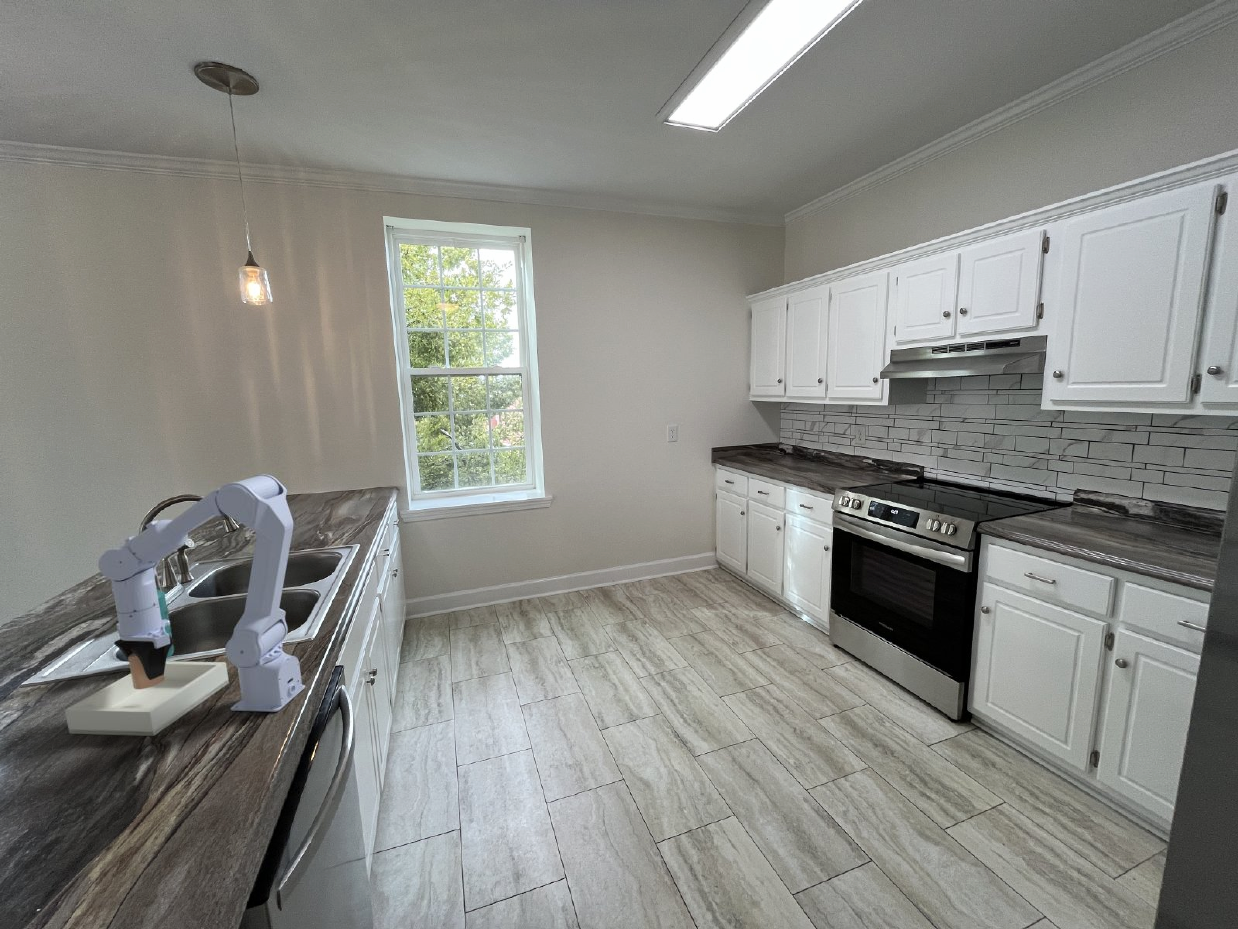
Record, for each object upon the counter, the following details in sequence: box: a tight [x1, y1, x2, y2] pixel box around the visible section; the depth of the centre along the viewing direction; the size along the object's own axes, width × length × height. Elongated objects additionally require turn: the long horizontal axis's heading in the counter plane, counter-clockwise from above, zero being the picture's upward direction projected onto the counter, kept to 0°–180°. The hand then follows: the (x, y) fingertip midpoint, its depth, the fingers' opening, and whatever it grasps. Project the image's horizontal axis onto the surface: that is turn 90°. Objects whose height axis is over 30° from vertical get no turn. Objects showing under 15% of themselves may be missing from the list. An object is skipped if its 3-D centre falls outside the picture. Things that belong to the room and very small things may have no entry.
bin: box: [64, 660, 230, 737], centre depth 97 cm, size 16×16×5 cm
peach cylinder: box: [127, 653, 165, 689], centre depth 95 cm, size 4×4×6 cm
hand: (149, 674), depth 96 cm, fingers closed on peach cylinder, 4 cm apart
